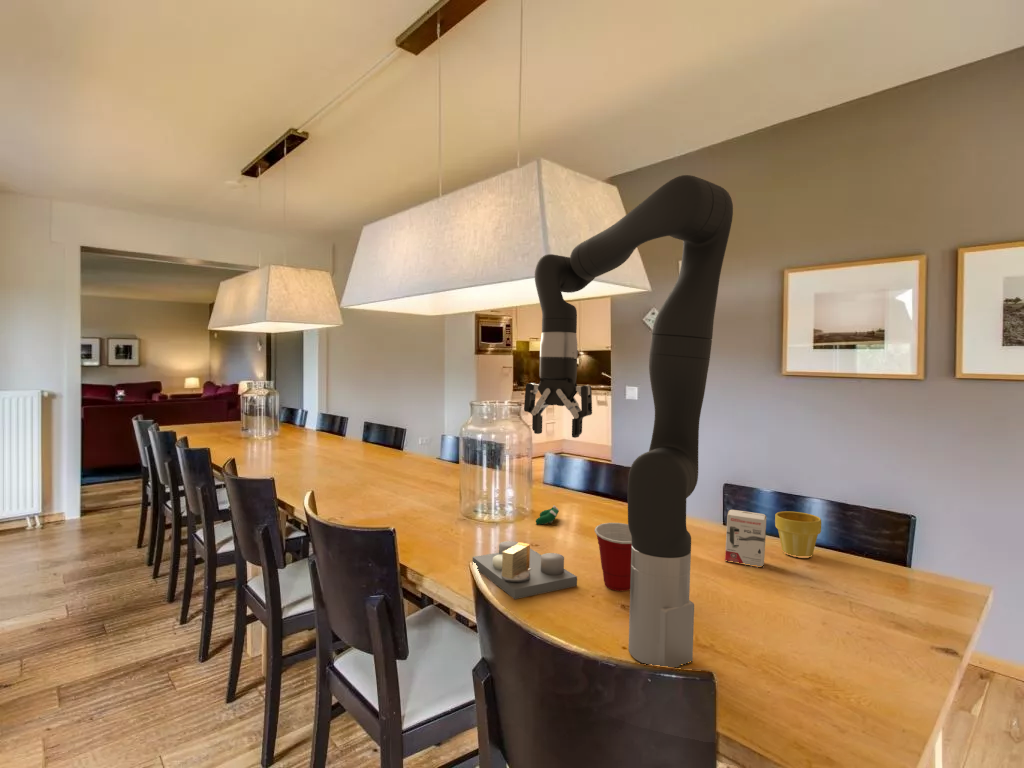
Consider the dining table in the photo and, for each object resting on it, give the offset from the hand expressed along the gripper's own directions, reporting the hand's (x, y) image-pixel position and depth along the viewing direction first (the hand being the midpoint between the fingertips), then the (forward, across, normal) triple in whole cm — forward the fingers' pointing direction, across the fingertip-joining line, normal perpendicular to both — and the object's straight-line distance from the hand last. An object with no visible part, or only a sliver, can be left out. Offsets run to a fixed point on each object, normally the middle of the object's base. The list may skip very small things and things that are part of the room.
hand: (556, 435), depth 110 cm
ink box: (+32, +31, +41) cm, 61 cm away
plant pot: (+32, +41, +55) cm, 76 cm away
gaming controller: (+32, -24, +44) cm, 60 cm away
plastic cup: (+32, +10, +10) cm, 35 cm away
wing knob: (+30, -7, -3) cm, 31 cm away
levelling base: (+32, -9, +4) cm, 34 cm away
